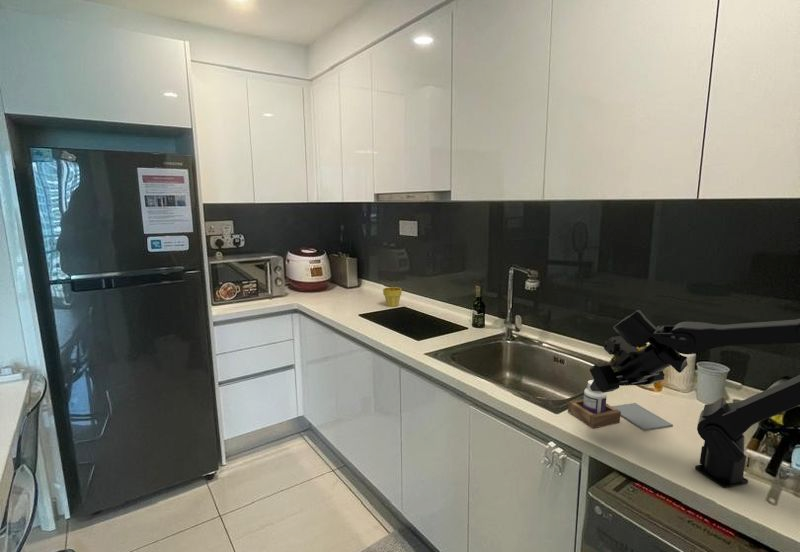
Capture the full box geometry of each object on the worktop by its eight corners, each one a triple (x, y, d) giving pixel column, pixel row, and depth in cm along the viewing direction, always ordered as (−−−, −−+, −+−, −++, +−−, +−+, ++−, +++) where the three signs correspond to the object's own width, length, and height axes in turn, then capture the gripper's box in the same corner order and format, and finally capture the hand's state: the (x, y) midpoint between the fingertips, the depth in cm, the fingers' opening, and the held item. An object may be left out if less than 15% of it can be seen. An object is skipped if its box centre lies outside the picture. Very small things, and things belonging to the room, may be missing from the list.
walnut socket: (619, 422, 105) (620, 411, 105) (592, 428, 102) (593, 417, 102) (593, 406, 114) (594, 396, 113) (567, 411, 111) (568, 401, 110)
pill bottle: (597, 411, 111) (600, 378, 109) (608, 422, 105) (611, 387, 104) (578, 412, 111) (581, 378, 109) (588, 422, 105) (591, 387, 104)
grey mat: (672, 426, 103) (672, 424, 103) (643, 431, 101) (644, 429, 101) (635, 404, 115) (635, 402, 115) (608, 408, 113) (608, 406, 113)
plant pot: (385, 308, 223) (385, 291, 221) (381, 304, 233) (381, 287, 231) (403, 307, 225) (403, 290, 224) (399, 303, 235) (399, 286, 234)
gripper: (658, 325, 99) (616, 353, 111) (599, 333, 92) (561, 361, 105) (686, 368, 93) (638, 392, 105) (625, 379, 86) (582, 403, 99)
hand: (605, 386), depth 103 cm, fingers open, 9 cm apart
